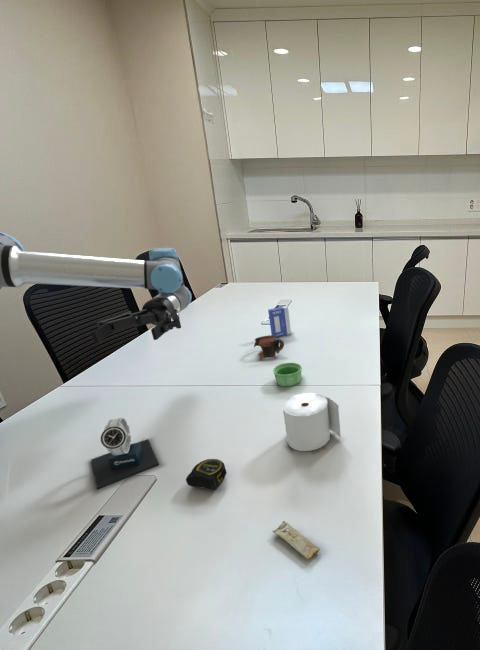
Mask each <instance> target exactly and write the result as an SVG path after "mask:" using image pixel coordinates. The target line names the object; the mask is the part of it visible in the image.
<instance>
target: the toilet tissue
mask: <svg viewBox="0 0 480 650" xmlns="http://www.w3.org/2000/svg"><path fill="white" fill-rule="evenodd" d="M339 407H340V406H339V405H338V404H337V402H336V401H334V400H333V399H331V398H330V397H327V396H325V395H322V394H320V393H315V392H302V393H297V394H294V395H292V396H290V397H288V398H287V399H286V400H284V402H283V403H282V414H283V420H284V426H285V428H284V429H285V434H286V441H287V444H288V446H289V447H290V448H291V449H293V450H294V451H298V452H311V451H315V450H318V449H321V448H323V447H324V446H325V445H327V443H329V440H330V439H331V432H333V434H335V435H337V436H338V437H339V439H341V438H342V437H341V436H342V435H341V425H340V424H341V423H340V409H339Z"/></svg>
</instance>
